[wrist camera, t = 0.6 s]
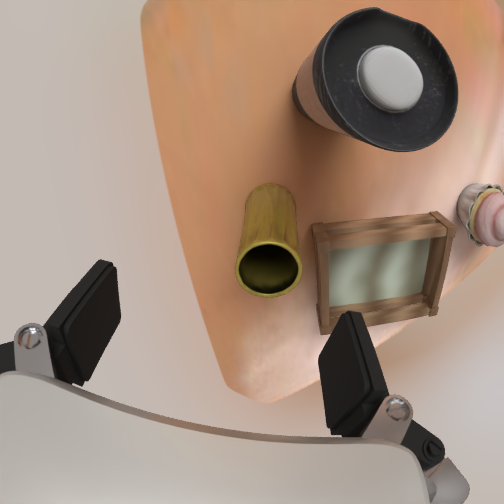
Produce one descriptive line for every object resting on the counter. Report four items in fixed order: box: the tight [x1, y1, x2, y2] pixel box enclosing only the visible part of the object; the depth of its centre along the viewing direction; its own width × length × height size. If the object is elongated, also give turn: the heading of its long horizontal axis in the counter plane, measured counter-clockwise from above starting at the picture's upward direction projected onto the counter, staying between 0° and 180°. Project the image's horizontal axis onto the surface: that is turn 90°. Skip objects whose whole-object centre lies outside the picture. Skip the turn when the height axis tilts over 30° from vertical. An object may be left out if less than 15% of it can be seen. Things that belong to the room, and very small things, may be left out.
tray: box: [312, 211, 456, 335], centre depth 35 cm, size 18×14×5 cm
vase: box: [235, 184, 302, 298], centre depth 28 cm, size 6×6×14 cm
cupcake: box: [457, 184, 504, 247], centre depth 26 cm, size 9×9×10 cm
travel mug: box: [292, 7, 458, 152], centre depth 18 cm, size 8×8×20 cm
